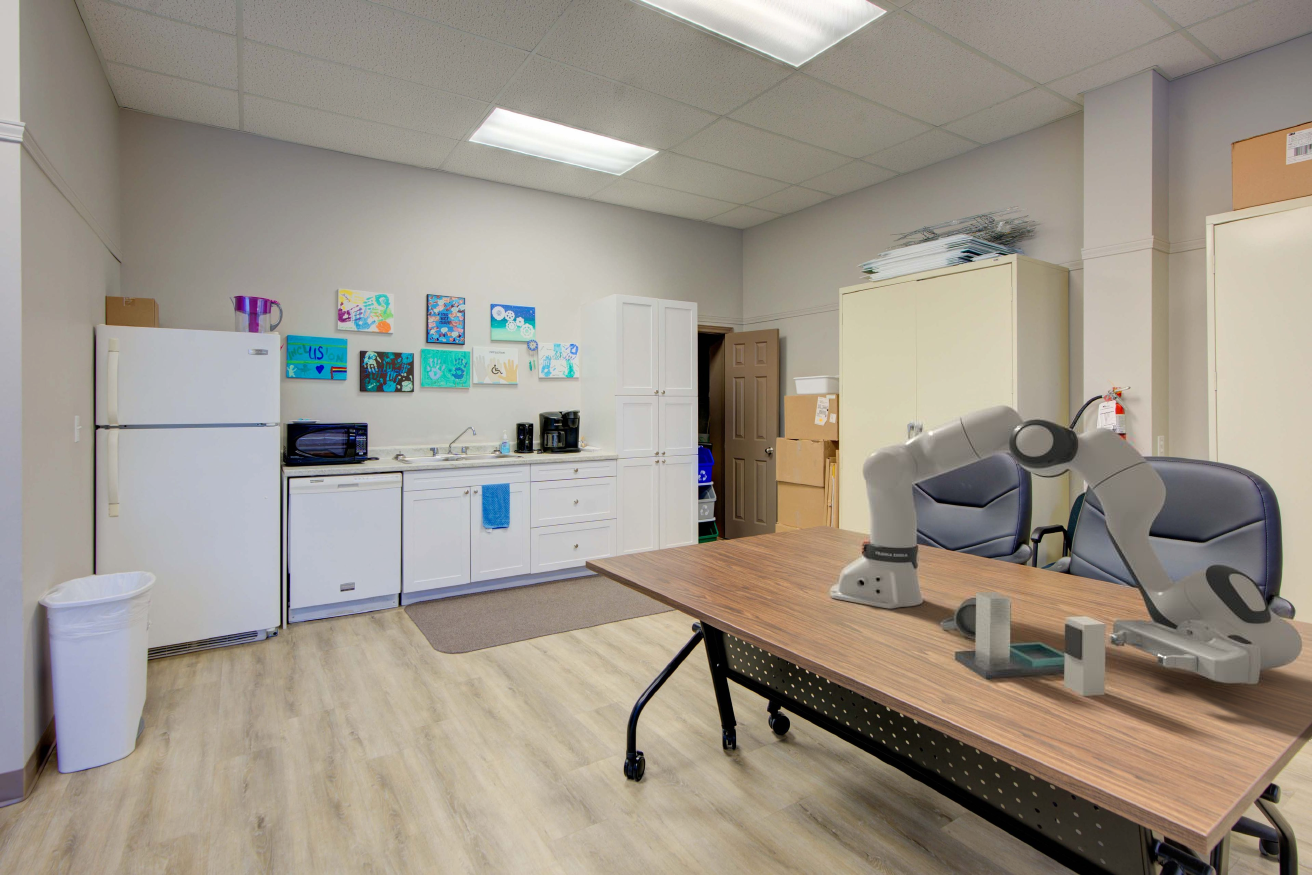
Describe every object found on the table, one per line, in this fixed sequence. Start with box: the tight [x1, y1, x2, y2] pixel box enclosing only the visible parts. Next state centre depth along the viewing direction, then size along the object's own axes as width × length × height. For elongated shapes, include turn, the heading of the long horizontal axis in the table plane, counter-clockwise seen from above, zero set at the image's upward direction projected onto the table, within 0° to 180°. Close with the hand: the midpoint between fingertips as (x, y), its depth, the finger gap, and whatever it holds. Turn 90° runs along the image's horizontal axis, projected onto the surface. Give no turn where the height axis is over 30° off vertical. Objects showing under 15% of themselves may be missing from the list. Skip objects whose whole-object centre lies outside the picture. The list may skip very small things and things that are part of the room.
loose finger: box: [1063, 615, 1107, 697], centre depth 106 cm, size 4×4×12 cm
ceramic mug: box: [940, 597, 976, 640], centre depth 134 cm, size 11×8×8 cm
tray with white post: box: [954, 591, 1065, 680], centre depth 116 cm, size 18×9×14 cm, turn 98°
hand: (1135, 649), depth 107 cm, fingers open, 8 cm apart
